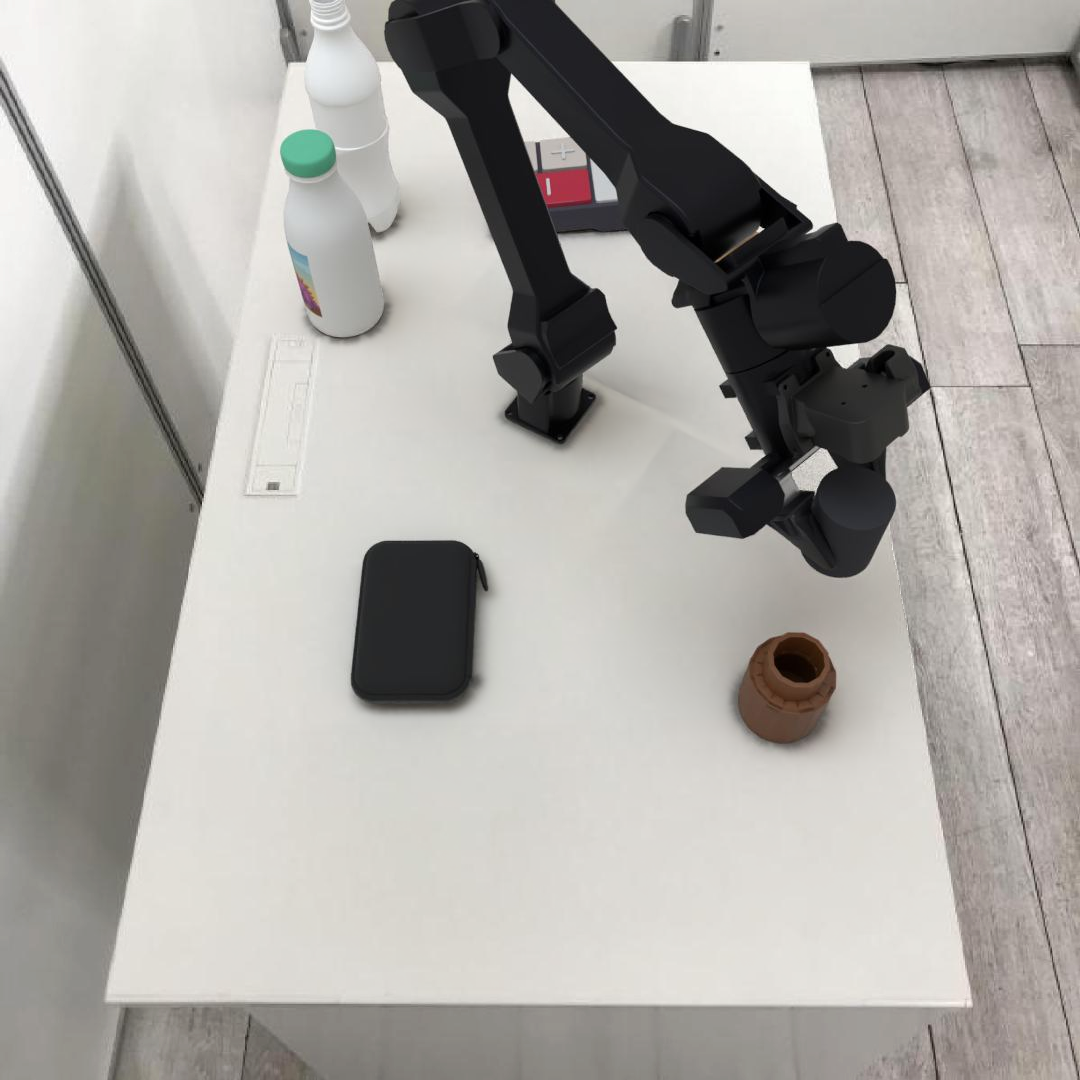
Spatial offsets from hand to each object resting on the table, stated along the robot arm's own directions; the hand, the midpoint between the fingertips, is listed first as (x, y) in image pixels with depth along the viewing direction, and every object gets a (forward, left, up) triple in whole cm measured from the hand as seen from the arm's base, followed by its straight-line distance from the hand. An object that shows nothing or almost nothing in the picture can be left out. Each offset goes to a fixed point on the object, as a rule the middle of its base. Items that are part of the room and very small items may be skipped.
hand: (856, 545), depth 75 cm
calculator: (+34, +45, -15) cm, 59 cm away
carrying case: (-16, +28, -15) cm, 35 cm away
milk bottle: (+9, +55, -15) cm, 58 cm away
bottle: (-7, 0, -15) cm, 16 cm away
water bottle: (+21, +61, -15) cm, 66 cm away
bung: (0, +1, -3) cm, 4 cm away
